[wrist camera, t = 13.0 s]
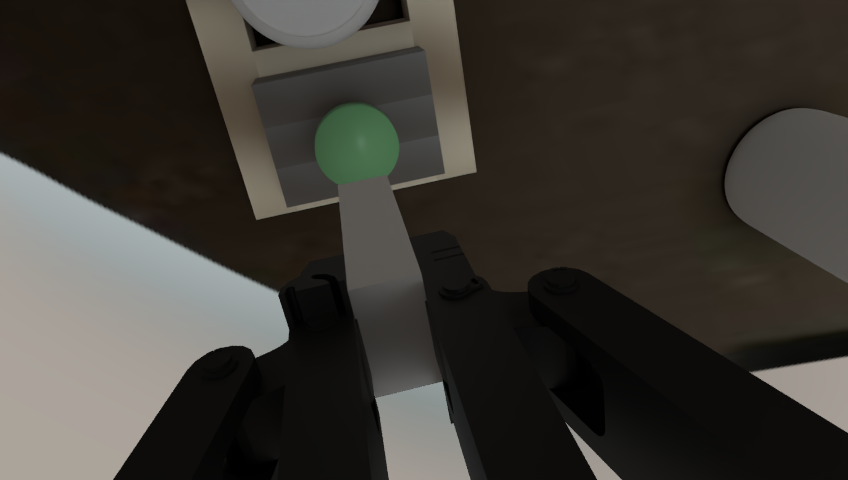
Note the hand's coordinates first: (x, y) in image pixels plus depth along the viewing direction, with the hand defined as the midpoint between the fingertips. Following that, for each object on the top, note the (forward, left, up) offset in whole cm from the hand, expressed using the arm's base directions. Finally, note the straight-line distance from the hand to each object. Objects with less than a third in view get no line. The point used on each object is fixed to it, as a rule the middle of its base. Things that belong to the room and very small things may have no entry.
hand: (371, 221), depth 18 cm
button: (0, 0, -11) cm, 11 cm away
